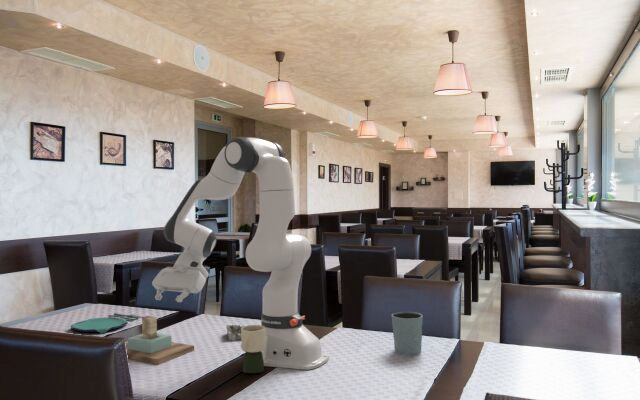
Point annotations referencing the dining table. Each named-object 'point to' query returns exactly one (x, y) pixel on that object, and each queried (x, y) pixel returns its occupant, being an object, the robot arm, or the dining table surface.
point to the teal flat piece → (103, 323)
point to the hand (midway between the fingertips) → (167, 300)
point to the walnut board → (160, 353)
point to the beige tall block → (149, 327)
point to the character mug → (253, 348)
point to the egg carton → (235, 330)
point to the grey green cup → (407, 332)
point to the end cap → (149, 343)
